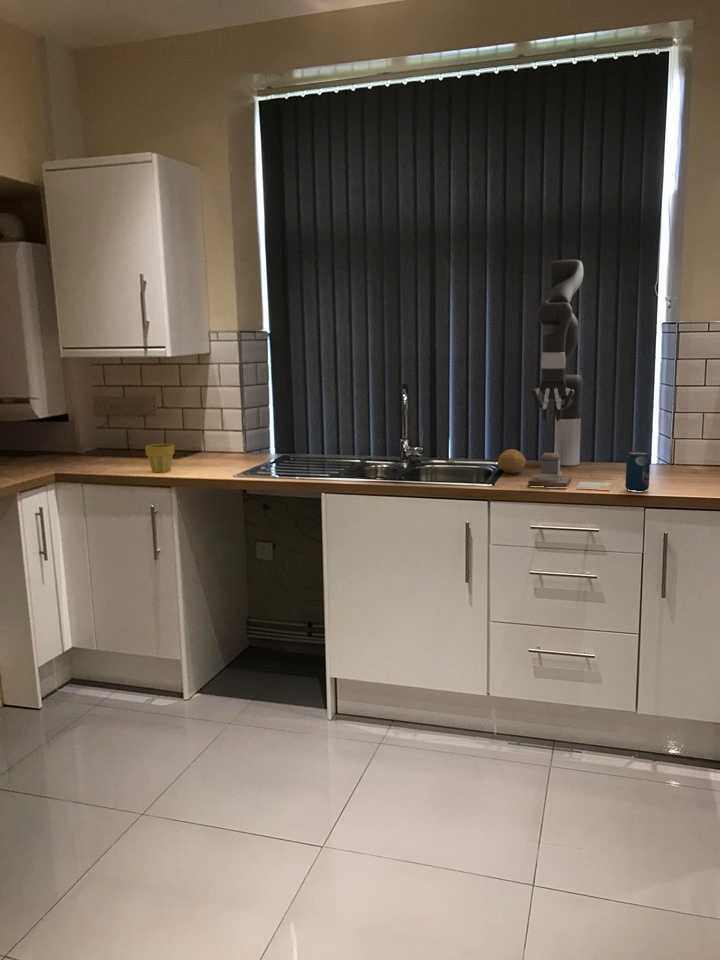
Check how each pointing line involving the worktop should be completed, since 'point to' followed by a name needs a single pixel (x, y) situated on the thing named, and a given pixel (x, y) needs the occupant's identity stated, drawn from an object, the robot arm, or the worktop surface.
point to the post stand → (550, 480)
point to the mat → (592, 484)
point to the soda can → (637, 471)
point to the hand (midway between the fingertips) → (551, 420)
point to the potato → (511, 461)
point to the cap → (550, 463)
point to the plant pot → (160, 456)
